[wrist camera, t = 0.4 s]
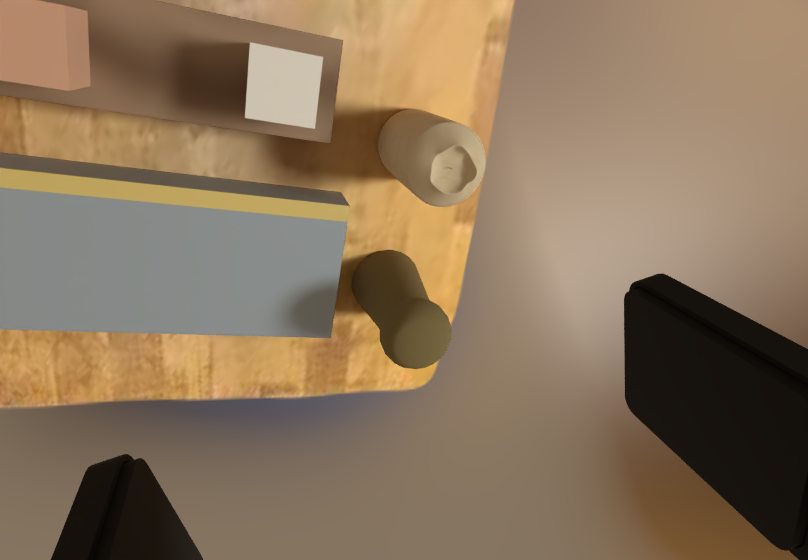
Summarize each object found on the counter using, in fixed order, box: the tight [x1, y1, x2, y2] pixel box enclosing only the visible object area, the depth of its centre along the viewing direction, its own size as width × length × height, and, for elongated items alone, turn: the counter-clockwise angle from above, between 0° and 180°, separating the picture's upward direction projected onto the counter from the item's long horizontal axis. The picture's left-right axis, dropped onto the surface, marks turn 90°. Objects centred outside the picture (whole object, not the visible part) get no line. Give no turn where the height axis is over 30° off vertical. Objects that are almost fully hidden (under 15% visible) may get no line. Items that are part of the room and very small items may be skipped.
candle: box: [378, 109, 486, 207], centre depth 36 cm, size 6×6×10 cm
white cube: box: [245, 42, 323, 129], centre depth 31 cm, size 4×4×4 cm
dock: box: [0, 153, 350, 338], centre depth 37 cm, size 11×24×4 cm, turn 80°
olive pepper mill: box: [352, 250, 451, 369], centre depth 40 cm, size 6×6×11 cm
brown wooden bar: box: [0, 0, 343, 143], centre depth 33 cm, size 6×20×4 cm, turn 80°
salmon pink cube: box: [0, 0, 90, 91], centre depth 27 cm, size 4×4×4 cm
